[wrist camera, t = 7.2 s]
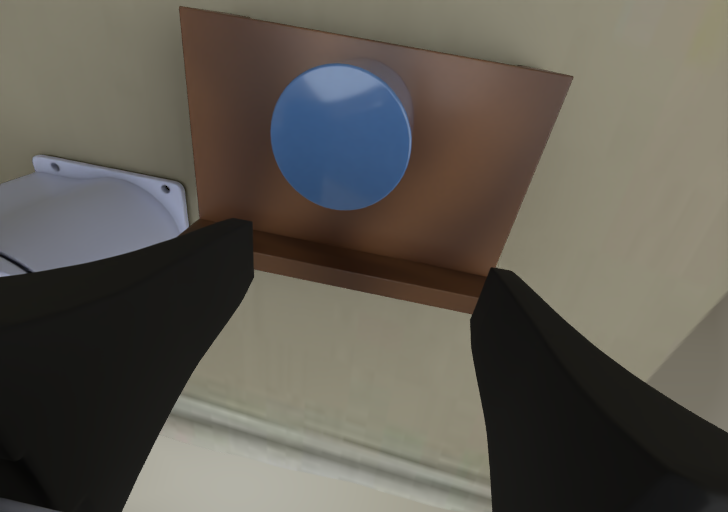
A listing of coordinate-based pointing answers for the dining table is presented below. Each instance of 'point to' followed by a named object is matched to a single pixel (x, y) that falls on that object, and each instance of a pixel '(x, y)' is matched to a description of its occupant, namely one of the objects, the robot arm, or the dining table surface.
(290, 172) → the blue cup
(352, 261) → the shelf
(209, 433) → the dining table surface
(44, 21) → the dining table surface
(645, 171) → the dining table surface
